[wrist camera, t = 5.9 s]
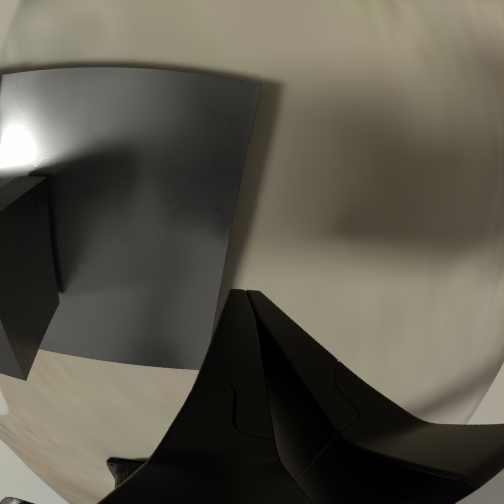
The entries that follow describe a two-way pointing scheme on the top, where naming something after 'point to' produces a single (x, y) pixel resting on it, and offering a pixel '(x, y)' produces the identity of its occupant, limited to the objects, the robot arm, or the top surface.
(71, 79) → the grey tray
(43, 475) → the top surface
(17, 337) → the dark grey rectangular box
